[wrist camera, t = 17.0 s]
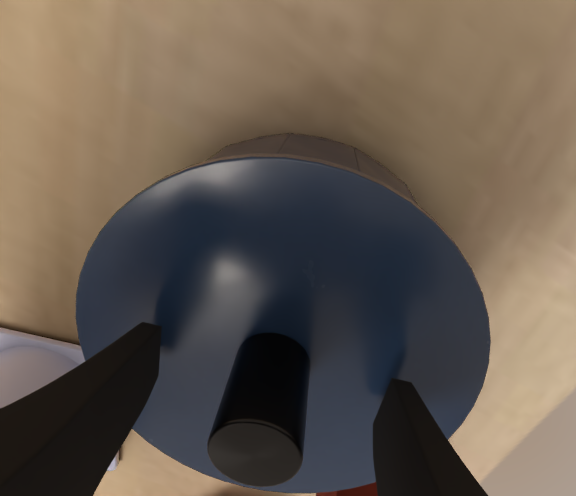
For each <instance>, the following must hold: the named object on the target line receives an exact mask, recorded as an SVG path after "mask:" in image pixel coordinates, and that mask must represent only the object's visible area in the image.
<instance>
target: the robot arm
mask: <svg viewBox="0 0 576 496" xmlns="http://www.w3.org/2000/svg"><path fill="white" fill-rule="evenodd" d="M161 330H162V326H158V325H154V324H150V323H145V322H142V323H140V324H138V325H137V326H135V327H134V328H133V329H131V330H130V331H128V332H127V333H126V334H124V335H123V336H121V337H120V338H119V339H117V340H116V341H114V342H113V343H111V344H110V345H109V346H107V347H106V348H104V349H103V350H101V351H100V352H98V353H97V354H95V355H94V356H92V357H91V358H89V359H88V360H86V361H85V359H84V356H83V352H82V349H81V346H80V345H76V344H71V343H67V342H63V341H58V340H54V339H49V338H45V337H40V336H36V335H32V334H27V333H23V332H18V331H14V330H9V329H5V328H1V327H0V496H93V494H94V492H95V490H96V489H97V487H98V485H99V483H100V481H101V479H102V478H103V476H104V474H105V472H106V471H113V470H115V469H116V468H117V466H118V464H119V449H120V447H121V446H122V444H123V442H124V441H125V439H126V437H127V436H128V434H129V432H130V431H131V429H132V427H133V426H134V424H135V422H136V421H137V419H138V417H139V416H140V414H141V412H142V410H143V409H144V407H145V405H146V403H147V401H148V399H149V396H150V394H151V392H152V390H153V387H154V385H155V383H156V381H157V378H158V376H159V362H160V346H161ZM373 462H374V470H375V478H376V486H377V494H378V496H488V495H487V494H486V492H485V491H484V490H483V489H482V487H481V486H480V485H479V483H478V482H477V481H476V479H475V478H474V477H473V475H472V474H471V473H470V471H469V470H468V468H467V467H466V466H465V464H464V463H463V462H462V460H461V459H460V457H459V456H458V455H457V453H456V452H455V450H454V449H453V447H452V446H451V444H450V443H449V441H448V440H447V438H446V437H445V435H444V434H443V432H442V431H441V429H440V427H439V426H438V424H437V423H436V421H435V420H434V418H433V416H432V415H431V413H430V412H429V410H428V408H427V407H426V405H425V403H424V402H423V400H422V398H421V397H420V395H419V394H418V392H417V390H416V389H415V387H414V385H413V384H412V382H408V381H404V380H399V379H395V378H392V379H391V381H390V383H389V386H388V388H387V391H386V393H385V396H384V398H383V400H382V403H381V405H380V408H379V410H378V412H377V415H376V417H375V420H374V422H373Z"/></svg>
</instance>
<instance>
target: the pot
mask: <svg viewBox="0 0 576 496" xmlns="http://www.w3.org/2000/svg"><path fill="white" fill-rule="evenodd" d="M252 153H266V154H291V155H297V156H304V157H311V158H317V159H322V160H325V161H329V162H332V163H336V164H339V165H343V166H346V167H350V168H352V169H355V170H357V171H359V172H362V173H364V174H366V175H368V176H371V177H373V178H375V179H378V180H380V181H382V182H384V183H385V184H387V185H389V186H390V187H392V188H393V189H395V190H397V191H398V192H400V193H402V194H403V195H405V196H407V197H408V198H409V199H411V200H412V201H413V202H414V203H416V201H415V199H414V198H413V196H412V194H411V192H410V191H409V189H408V187H407V185H406V184H404V182H402V181H401V180H400V179H398V178H397V177H395V176H394V175H393V174H392V173H391V172H390V171H389V170H387V169H386V168H385V167H384V166H383V165H381V164H380V163H379V162H377V161H376V160H374V159H372V158H371V157H369V156H368V155H366V154H364V153H363V152H361V151H359V150H358V149H356V148H353V147H352V146H348V145H345V144H343V143H340V142H336V141H333V140H329V139H326V138H322V137H316V136H309V135H302V134H293V133H291V134H279V135H271V136H263V137H258V138H254V139H250V140H247V141H243V142H240V143H236V144H231V145H229V146H226V147H225V148H223V149H222V150H220V151H219V152H218V153H216V154H215V155H213V156H212V157H210V158H209V159H207V160H206V161H209V160H213V159H217V158H220V157H227V156H235V155H244V154H252ZM416 204H417V203H416Z"/></svg>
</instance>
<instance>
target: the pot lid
mask: <svg viewBox="0 0 576 496" xmlns="http://www.w3.org/2000/svg"><path fill="white" fill-rule="evenodd" d="M142 322H145V323H150V324H154V325H158V326H162V330H161V346H160V362H159V376H158V378H157V381H156V383H155V385H154V387H153V390H152V392H151V394H150V396H149V399H148V401H147V403H146V405H145V407H144V409H143V410H142V412H141V414H140V416H139V417H138V419H137V421H136V422H135V424H134V426H133V427H132V429H133V430H134V431H136V432H137V433H138V434H139V435H140V436H141V437H143V438H144V439H145V440H146V441H147V442H149V443H150V444H152V445H153V446H154V447H156V448H157V449H159V450H160V451H162V452H163V453H164V454H166V455H168V456H169V457H171V458H173V459H175V460H176V461H178V462H180V463H182V464H183V465H186V466H188V467H190V468H192V469H194V470H196V471H198V472H201V473H203V474H205V475H208V476H211V477H214V478H216V479H219V480H222V481H225V482H229V483H232V484H236V485H240V486H243V487H248V488H253V489H259V490H264V491H273V492H283V493H322V492H333V491H339V490H346V489H352V488H356V487H360V486H364V485H367V484H371V483H375V482H376V478H375V470H374V462H373V422H374V420H375V417H376V415H377V412H378V410H379V408H380V405H381V403H382V400H383V398H384V396H385V393H386V391H387V388H388V386H389V383H390V381H391V379H392V378H395V379H399V380H404V381H408V382H412V384H413V385H414V387H415V389H416V390H417V392H418V394H419V395H420V397H421V398H422V400H423V402H424V403H425V405H426V407H427V408H428V410H429V412H430V413H431V415H432V416H433V418H434V420H435V421H436V423H437V424H438V426H439V427H440V429H441V431H442V432H443V434H444V435H445V437H446V438H447V440H448V439H449V438H450V437H451V436H452V434H453V433H454V432H455V431H456V430H457V429H458V428H459V427H460V426H461V424H462V423H463V421H464V420H465V418H466V417H467V415H468V414H469V412H470V411H471V409H472V408H473V406H474V404H475V402H476V400H477V398H478V395H479V393H480V391H481V389H482V387H483V383H484V379H485V376H486V372H487V368H488V364H489V353H490V343H491V340H490V327H489V317H488V313H487V309H486V305H485V301H484V297H483V293H482V291H481V289H480V287H479V284H478V282H477V280H476V278H475V275H474V273H473V271H472V269H471V267H470V266H469V264H468V262H467V261H466V259H465V258H464V256H463V255H462V253H461V252H460V250H459V249H458V247H457V246H456V244H455V243H454V241H453V240H452V238H451V237H450V236H449V235H448V234H447V233H446V232H445V231H444V230H443V229H442V227H441V226H440V225H439V224H438V223H437V222H436V221H435V220H434V219H433V217H431V216H430V215H429V214H428V213H427V212H425V211H424V210H423V209H422V208H420V207H419V206H418V205H417V204H416V203H414V202H413V201H412V200H411V199H409V198H408V197H407V196H405V195H403V194H402V193H400V192H398V191H397V190H395V189H393V188H392V187H390V186H389V185H387V184H385V183H384V182H382V181H380V180H378V179H375V178H373V177H371V176H368V175H366V174H364V173H362V172H359V171H357V170H355V169H352V168H350V167H346V166H343V165H339V164H336V163H332V162H329V161H325V160H322V159H317V158H311V157H304V156H297V155H291V154H266V153H252V154H244V155H235V156H227V157H220V158H217V159H213V160H209V161H205V162H201V163H197V164H194V165H191V166H189V167H186V168H184V169H181V170H179V171H177V172H174V173H172V174H170V175H167V176H165V177H164V178H162V179H160V180H159V181H157V182H155V183H154V184H152V185H151V186H149V187H147V188H146V189H144V190H142V191H141V192H140V193H138V194H137V195H135V196H134V197H133V198H132V199H131V200H130V201H128V202H127V203H126V204H125V205H124V206H123V207H121V208H120V209H119V210H118V211H117V212H116V213H115V214H114V215H113V216H112V218H111V219H110V220H109V221H108V222H107V224H106V225H105V226H104V227H103V228H102V230H101V231H100V232H99V234H98V236H97V238H96V239H95V241H94V243H93V244H92V246H91V248H90V250H89V251H88V254H87V257H86V259H85V262H84V265H83V267H82V270H81V273H80V277H79V283H78V288H77V293H76V324H77V331H78V338H79V342H80V345H81V349H82V352H83V356H84V359H85V361H86V360H88V359H89V358H91V357H92V356H94V355H95V354H97V353H98V352H100V351H101V350H103V349H104V348H106V347H107V346H109V345H110V344H111V343H113V342H114V341H116V340H117V339H119V338H120V337H121V336H123V335H124V334H126V333H127V332H128V331H130V330H131V329H133V328H134V327H135V326H137V325H138V324H140V323H142Z"/></svg>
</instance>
